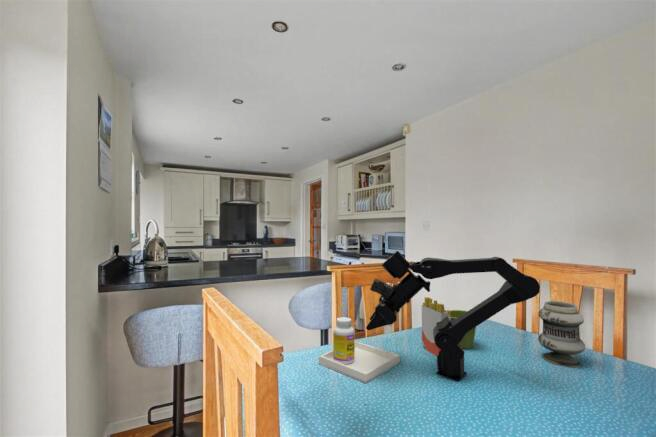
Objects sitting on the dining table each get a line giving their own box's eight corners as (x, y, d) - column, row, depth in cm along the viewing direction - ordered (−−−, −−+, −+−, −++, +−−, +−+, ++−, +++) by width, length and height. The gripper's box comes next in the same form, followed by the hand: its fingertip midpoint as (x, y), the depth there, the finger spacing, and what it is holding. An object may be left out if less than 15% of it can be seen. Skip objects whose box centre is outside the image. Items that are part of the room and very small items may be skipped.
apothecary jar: (543, 364, 97) (542, 306, 98) (534, 350, 108) (533, 298, 109) (592, 371, 92) (591, 310, 93) (577, 356, 104) (576, 301, 104)
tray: (399, 362, 98) (399, 354, 98) (366, 383, 85) (366, 374, 85) (354, 347, 110) (354, 340, 110) (318, 363, 97) (318, 356, 97)
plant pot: (448, 337, 121) (448, 308, 121) (482, 344, 114) (482, 313, 114) (439, 347, 111) (439, 315, 112) (476, 354, 104) (475, 320, 105)
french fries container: (432, 345, 112) (432, 295, 113) (453, 357, 102) (452, 302, 103) (421, 347, 111) (421, 296, 112) (441, 359, 101) (440, 303, 101)
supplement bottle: (347, 367, 94) (347, 323, 94) (329, 361, 97) (329, 320, 98) (358, 359, 99) (358, 318, 99) (340, 354, 103) (340, 315, 103)
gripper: (388, 266, 105) (355, 298, 107) (383, 274, 87) (344, 312, 89) (412, 291, 103) (378, 323, 105) (413, 305, 84) (372, 342, 87)
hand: (368, 324), depth 97 cm, fingers open, 9 cm apart
